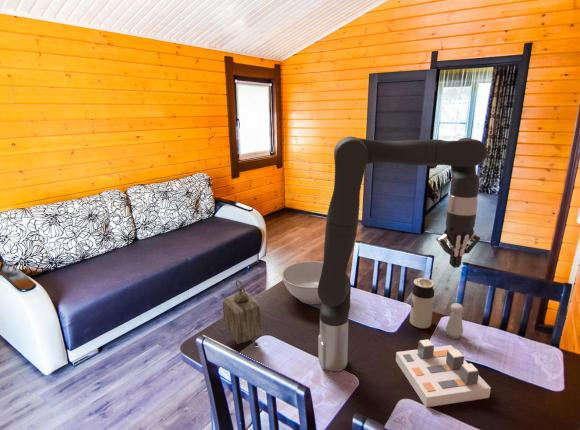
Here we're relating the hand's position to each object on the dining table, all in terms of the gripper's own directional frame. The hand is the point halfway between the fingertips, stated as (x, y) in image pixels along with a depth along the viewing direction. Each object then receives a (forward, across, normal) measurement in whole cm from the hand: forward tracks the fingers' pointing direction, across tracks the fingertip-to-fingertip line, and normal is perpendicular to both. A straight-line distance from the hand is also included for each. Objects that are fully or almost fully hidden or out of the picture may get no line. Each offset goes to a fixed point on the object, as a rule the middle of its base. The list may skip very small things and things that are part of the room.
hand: (454, 266), depth 106 cm
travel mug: (+37, +6, +26) cm, 46 cm away
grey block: (+33, +2, -9) cm, 34 cm away
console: (+37, -3, -3) cm, 37 cm away
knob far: (+33, -5, +4) cm, 34 cm away
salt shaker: (+37, +14, +16) cm, 43 cm away
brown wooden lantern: (+37, -64, +27) cm, 79 cm away
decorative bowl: (+37, -32, +54) cm, 73 cm away
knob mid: (+33, +2, -3) cm, 33 cm away
